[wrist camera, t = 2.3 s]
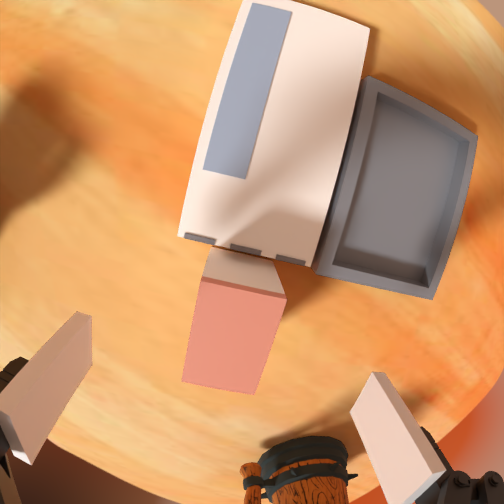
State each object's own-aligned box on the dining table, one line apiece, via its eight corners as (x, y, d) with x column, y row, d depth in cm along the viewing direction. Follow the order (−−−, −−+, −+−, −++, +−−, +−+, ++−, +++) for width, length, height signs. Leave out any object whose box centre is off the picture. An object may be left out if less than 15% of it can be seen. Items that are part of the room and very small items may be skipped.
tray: (357, 82, 16) (368, 75, 15) (463, 136, 17) (478, 136, 16) (309, 264, 20) (315, 274, 18) (420, 290, 21) (432, 300, 19)
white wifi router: (246, 2, 15) (246, -11, 13) (361, 36, 15) (370, 27, 14) (182, 230, 19) (176, 236, 17) (304, 259, 19) (310, 267, 18)
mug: (367, 440, 25) (402, 525, 14) (313, 487, 28) (330, 562, 17) (258, 417, 23) (269, 533, 12) (213, 470, 26) (210, 560, 14)
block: (211, 246, 19) (200, 280, 13) (272, 260, 20) (287, 299, 14) (194, 327, 21) (181, 381, 15) (249, 338, 21) (254, 394, 15)
